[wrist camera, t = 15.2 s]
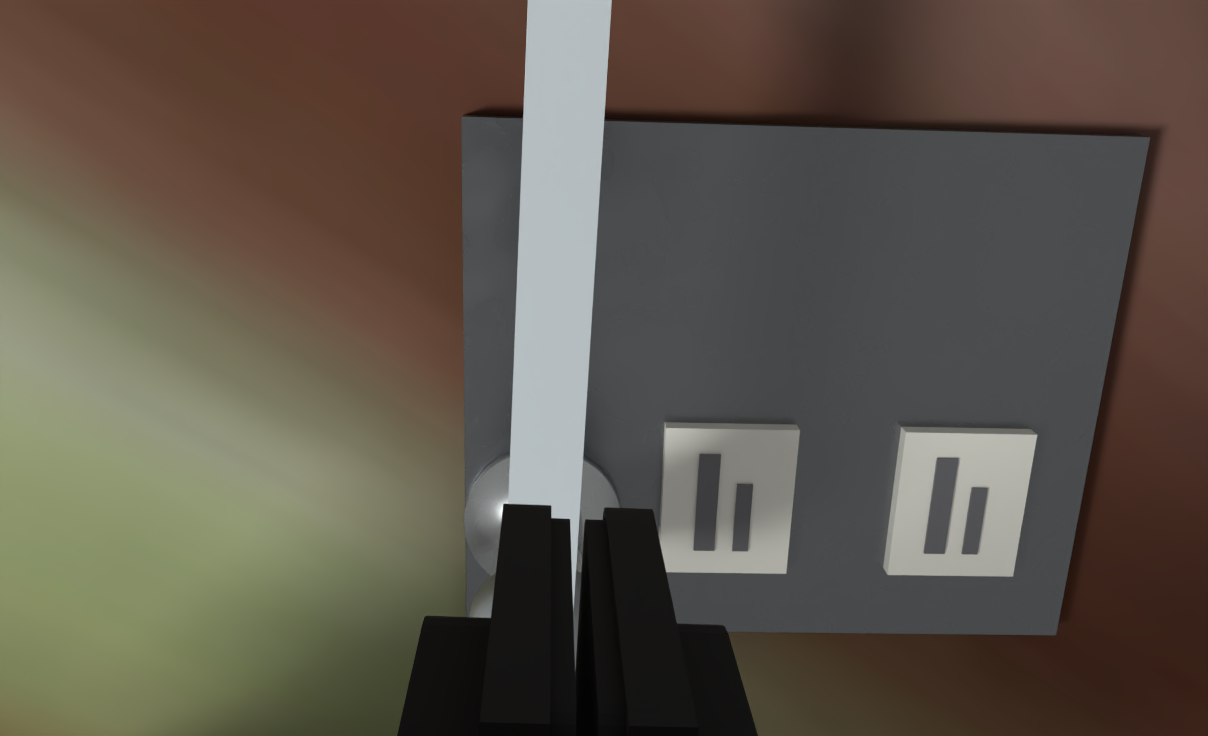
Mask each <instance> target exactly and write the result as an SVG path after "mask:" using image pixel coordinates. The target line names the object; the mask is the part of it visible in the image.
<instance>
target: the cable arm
mask: <svg viewBox="0 0 1208 736" xmlns="http://www.w3.org/2000/svg"><path fill="white" fill-rule="evenodd" d="M611 2H612V0H528V11H527V37H526V62H525V88H524V113H523V139H522V165H521V190H520V216H519V241H518V267H517V292H516V318H515V343H514V369H513V394H512V420H511V445H510V471H509V496H508V504H528V505H551V518H561V519H570V531H571V561H572V591H573V622H574V652H575V669H576V652H577V636H578V619H579V603H580V586H581V573H580V572H578V571H577V570H576V564H577V548H578V532H579V516H580V499H581V483H582V467H583V451H584V435H585V419H586V403H587V387H588V371H589V355H590V339H591V323H592V307H593V291H594V275H595V259H596V243H597V227H598V211H599V195H600V179H601V163H602V147H603V131H604V115H605V99H606V83H607V66H608V50H609V34H610V18H611ZM495 576H496V573H495V574H493V575H492V576H491V577H490V578H488V579H487V580H486V581H485V582H484V583H483V585H482V586H481V587H480V588H479V590H478V592H477V593H476V595H475V597H474V599H473V602H472V604H471V608H470V612H469V617H480V618H491V612H492V603H493V594H494V585H495Z"/></svg>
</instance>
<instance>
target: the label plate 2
mask: <svg viewBox="0 0 1208 736" xmlns="http://www.w3.org/2000/svg"><path fill="white" fill-rule="evenodd" d="M1036 439H1037V434H1036V433H1035V432H1034V431H1032V430H1031V429H1006V428H952V427H901V432H900V440H899V447H898V455H897V463H896V471H895V479H894V486H893V494H892V502H891V510H890V518H889V525H888V533H887V541H886V549H885V557H884V565H883V568H884V570H885V572H886V573H887V575H925V576H1005V577H1013V573H1014V568H1015V562H1016V556H1017V550H1018V544H1019V538H1020V533H1021V527H1022V521H1023V515H1024V509H1025V503H1026V498H1027V492H1028V486H1029V480H1030V474H1031V468H1032V463H1033V457H1034V451H1035V445H1036Z"/></svg>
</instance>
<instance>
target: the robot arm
mask: <svg viewBox="0 0 1208 736" xmlns="http://www.w3.org/2000/svg"><path fill="white" fill-rule="evenodd" d="M397 736H758V735H757V731H756V728H755V724H754V721H753V718H752V714H751V711H750V707H749V704H748V700H747V697H746V694H745V690H744V687H743V683H742V680H741V677H740V673H739V670H738V666H737V663H736V659H735V656H734V653H733V649H732V646H731V642H730V639H729V635H728V633H727V630H726V628H725V626H723V625H713V624H680V623H677V621H676V617H675V612H674V607H673V602H672V597H671V593H670V588H669V583H668V578H667V574H666V569H665V564H664V559H663V555H662V550H661V545H660V540H659V536H658V531H657V526H656V521H655V516H654V512H653V509H637V508H610V507H605V508H604V512H603V520H589V519H585V524H584V537H583V553H582V570H581V586H580V603H579V619H578V636H577V652H576V669H575V652H574V622H573V591H572V561H571V531H570V519H561V518H551V505H528V504H503V512H502V521H501V530H500V539H499V548H498V557H497V567H496V576H495V585H494V594H493V603H492V612H491V618H480V617H447V616H426V617H425V618H424V621H423V624H422V628H421V633H420V637H419V642H418V646H417V651H416V655H415V660H414V664H413V668H412V673H411V677H410V682H409V686H408V691H407V695H406V700H405V704H404V708H403V713H402V717H401V722H400V726H399V731H398V735H397Z"/></svg>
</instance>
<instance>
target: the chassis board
mask: <svg viewBox="0 0 1208 736" xmlns="http://www.w3.org/2000/svg"><path fill="white" fill-rule="evenodd" d="M522 139H523V117H522V116H489V115H463V116H462V211H463V315H464V418H465V509H466V504H467V499H468V496H469V493H470V490H471V488H472V486H473V484H474V482H475V481H476V479H477V478H478V476H479V475H480V474H481V472H482V471H483V470H484V469H485V468H486V467H487V466H488V465H489V464H491V463H492V462H493V461H494V460H496V459H497V458H499V457H500V456H502V455H504V454H506V453H508V452H510V445H511V420H512V394H513V369H514V343H515V318H516V292H517V267H518V241H519V216H520V190H521V165H522ZM1149 141H1150V137H1146V136H1141V135H1122V134H1089V133H1056V132H1022V131H989V130H956V129H922V128H889V127H856V126H822V125H789V124H756V123H722V122H689V121H656V120H622V119H604V131H603V147H602V163H601V179H600V195H599V211H598V227H597V243H596V259H595V275H594V291H593V307H592V323H591V339H590V355H589V371H588V387H587V403H586V419H585V435H584V451H583V455H584V456H586V457H587V458H589V459H591V460H592V461H593V462H595V463H596V464H597V465H598V466H599V467H600V468H601V469H602V470H603V471H604V472H605V473H606V474H607V476H608V477H609V479H610V480H611V482H612V483H613V485H614V487H615V489H616V492H617V495H618V498H619V502H620V507H621V508H637V509H653V512H654V516H655V521H656V526H657V531H658V536H659V522H660V503H661V484H662V465H663V447H664V428H665V422H680V423H734V424H788V425H797V426H798V428H799V430H800V435H799V446H798V456H797V466H796V477H795V487H794V498H793V508H792V518H791V529H790V539H789V550H788V560H787V570H786V574H766V573H687V572H666V574H667V578H668V583H669V588H670V593H671V597H672V602H673V607H674V612H675V617H676V621H677V623H680V624H713V625H723V626H725V628H726V630H727V632H789V633H886V634H983V635H1056V633H1057V628H1058V622H1059V617H1060V612H1061V606H1062V601H1063V596H1064V591H1065V585H1066V580H1067V575H1068V569H1069V564H1070V559H1071V554H1072V548H1073V543H1074V538H1075V532H1076V527H1077V522H1078V517H1079V511H1080V506H1081V501H1082V495H1083V490H1084V485H1085V480H1086V474H1087V469H1088V464H1089V458H1090V453H1091V448H1092V443H1093V437H1094V432H1095V427H1096V421H1097V416H1098V411H1099V406H1100V400H1101V395H1102V390H1103V384H1104V379H1105V374H1106V369H1107V363H1108V358H1109V353H1110V347H1111V342H1112V337H1113V332H1114V326H1115V321H1116V316H1117V310H1118V305H1119V300H1120V295H1121V289H1122V284H1123V279H1124V273H1125V268H1126V263H1127V258H1128V252H1129V247H1130V242H1131V236H1132V231H1133V226H1134V221H1135V215H1136V210H1137V205H1138V199H1139V194H1140V189H1141V184H1142V178H1143V173H1144V168H1145V162H1146V157H1147V152H1148V147H1149ZM901 427H952V428H1006V429H1031V430H1032V431H1034V432H1035V433H1036V434H1037V439H1036V445H1035V451H1034V457H1033V463H1032V468H1031V474H1030V480H1029V486H1028V492H1027V498H1026V503H1025V509H1024V515H1023V521H1022V527H1021V533H1020V538H1019V544H1018V550H1017V556H1016V562H1015V568H1014V573H1013V577H1005V576H925V575H887V573H886V572H885V570H884V568H883V565H884V557H885V549H886V541H887V533H888V525H889V518H890V510H891V502H892V494H893V486H894V479H895V471H896V463H897V455H898V447H899V440H900V432H901ZM490 577H491V575H490V574H488V573H487V572H486V571H485V570H484V569H483V568H482V567H481V566H480V564H479V563H478V562H477V560H476V559H475V558H474V556H473V554H472V552H471V550H470V548H469V545H468V543H467V540H466V617H469V612H470V608H471V604H472V602H473V599H474V597H475V595H476V593H477V592H478V590H479V588H480V587H481V586H482V585H483V583H484V582H485V581H486V580H487V579H488V578H490Z"/></svg>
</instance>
